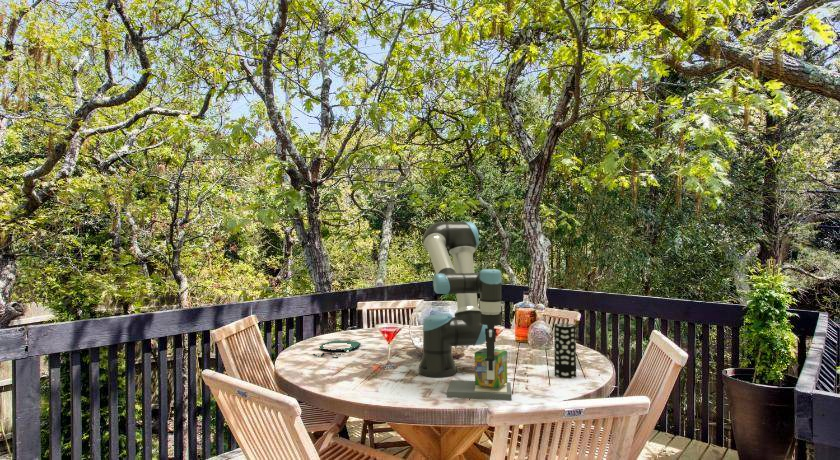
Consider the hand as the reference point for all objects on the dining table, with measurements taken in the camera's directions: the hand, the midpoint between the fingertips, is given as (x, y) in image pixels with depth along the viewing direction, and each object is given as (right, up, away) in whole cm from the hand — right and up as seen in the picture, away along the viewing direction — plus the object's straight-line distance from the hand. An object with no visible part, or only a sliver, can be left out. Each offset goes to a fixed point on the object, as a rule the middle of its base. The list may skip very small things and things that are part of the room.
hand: (490, 374), depth 181 cm
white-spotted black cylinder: (+33, -7, +22) cm, 40 cm away
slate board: (-4, -7, +1) cm, 8 cm away
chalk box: (0, -3, 0) cm, 3 cm away
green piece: (-66, -8, +67) cm, 95 cm away
